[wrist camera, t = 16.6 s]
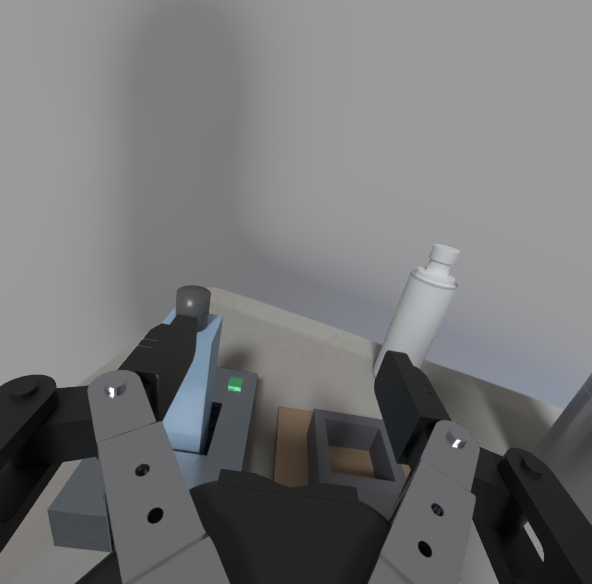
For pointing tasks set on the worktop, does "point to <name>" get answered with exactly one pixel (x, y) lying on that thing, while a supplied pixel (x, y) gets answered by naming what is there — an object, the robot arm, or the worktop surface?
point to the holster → (338, 455)
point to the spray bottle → (421, 307)
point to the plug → (195, 375)
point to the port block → (195, 468)
